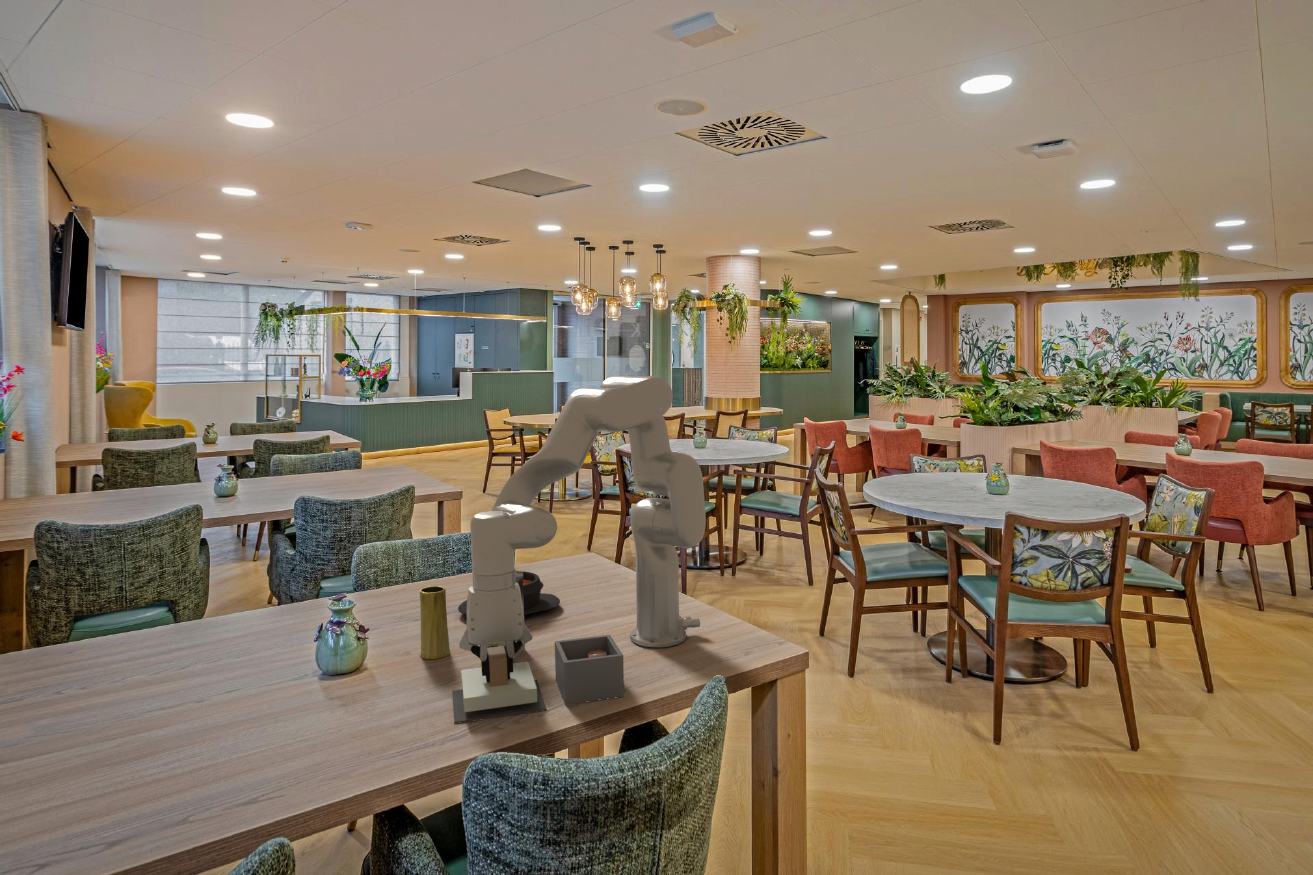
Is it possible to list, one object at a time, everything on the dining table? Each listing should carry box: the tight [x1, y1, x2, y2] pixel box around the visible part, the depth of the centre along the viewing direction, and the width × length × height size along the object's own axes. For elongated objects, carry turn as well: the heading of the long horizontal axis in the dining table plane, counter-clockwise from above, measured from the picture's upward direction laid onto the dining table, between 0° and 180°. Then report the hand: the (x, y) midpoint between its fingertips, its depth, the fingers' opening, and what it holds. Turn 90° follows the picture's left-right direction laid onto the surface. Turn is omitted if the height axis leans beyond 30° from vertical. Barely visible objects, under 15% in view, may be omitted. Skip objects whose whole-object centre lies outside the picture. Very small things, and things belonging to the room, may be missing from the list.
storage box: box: [554, 634, 625, 706], centre depth 144 cm, size 11×11×8 cm
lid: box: [460, 646, 537, 712], centre depth 139 cm, size 13×13×8 cm
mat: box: [452, 679, 547, 724], centre depth 140 cm, size 16×13×1 cm
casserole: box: [457, 570, 561, 617], centre depth 189 cm, size 25×19×8 cm
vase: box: [419, 585, 451, 660], centre depth 162 cm, size 6×6×14 cm
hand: (497, 676), depth 139 cm, fingers closed on lid, 3 cm apart
